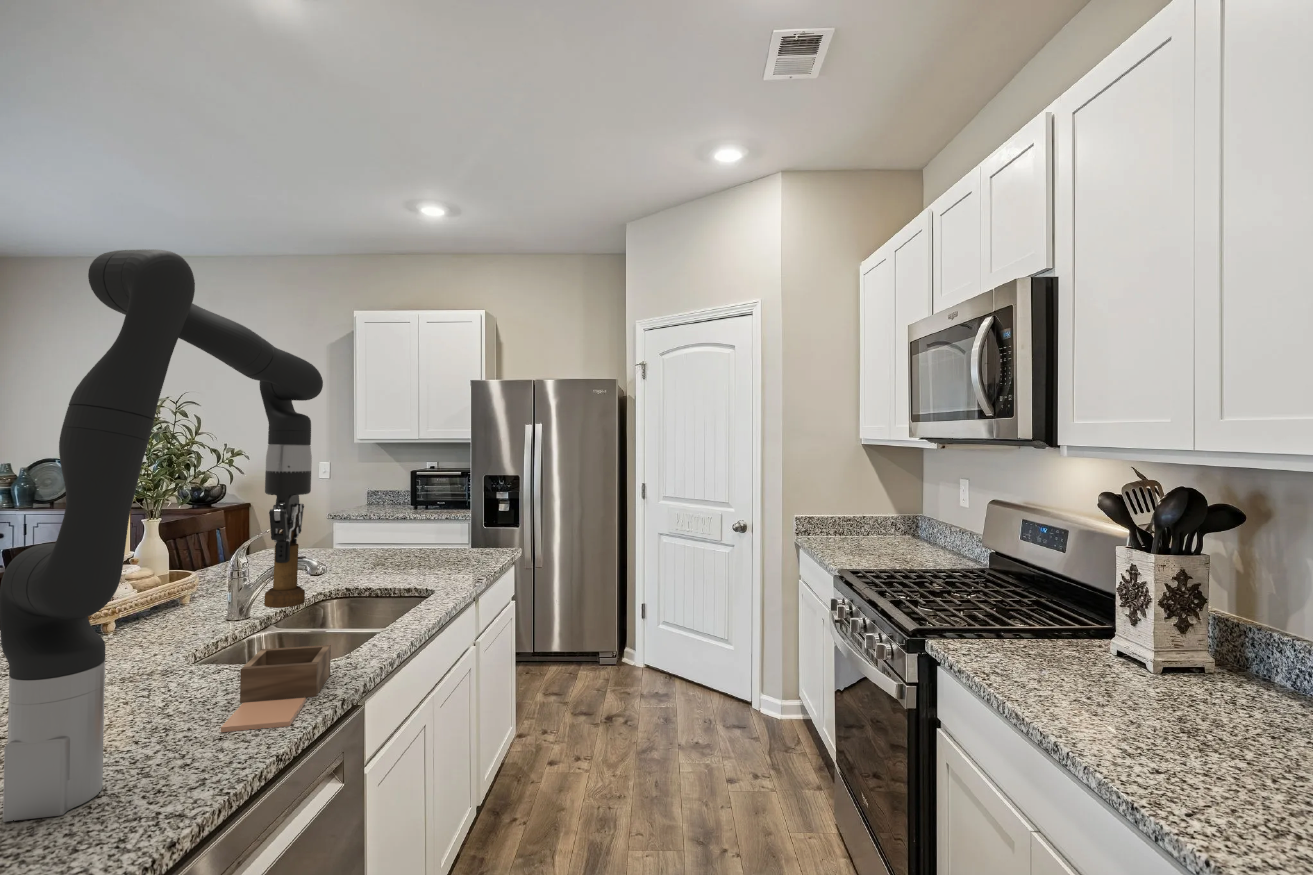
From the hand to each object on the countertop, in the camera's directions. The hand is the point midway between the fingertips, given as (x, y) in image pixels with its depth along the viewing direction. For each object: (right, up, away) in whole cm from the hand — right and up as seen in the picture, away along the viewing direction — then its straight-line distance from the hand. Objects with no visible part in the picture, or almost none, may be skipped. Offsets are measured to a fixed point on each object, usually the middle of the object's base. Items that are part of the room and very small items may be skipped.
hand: (285, 559), depth 121 cm
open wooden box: (-1, -25, +2) cm, 25 cm away
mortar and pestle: (0, -8, 0) cm, 8 cm away
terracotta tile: (+3, -25, -11) cm, 27 cm away
